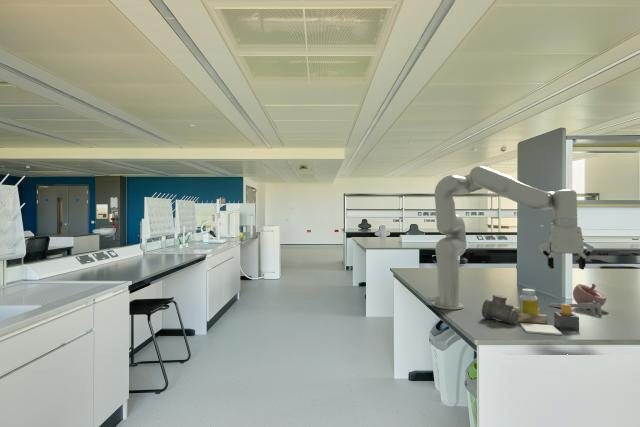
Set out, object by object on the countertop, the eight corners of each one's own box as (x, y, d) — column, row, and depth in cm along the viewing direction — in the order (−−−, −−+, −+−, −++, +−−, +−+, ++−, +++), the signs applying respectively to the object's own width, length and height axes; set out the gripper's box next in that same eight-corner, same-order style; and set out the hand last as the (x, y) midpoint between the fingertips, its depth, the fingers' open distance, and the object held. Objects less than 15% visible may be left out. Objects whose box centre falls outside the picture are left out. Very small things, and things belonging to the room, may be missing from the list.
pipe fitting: (478, 318, 146) (482, 293, 146) (489, 316, 151) (493, 292, 150) (508, 329, 136) (512, 302, 136) (519, 327, 141) (523, 301, 141)
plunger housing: (559, 329, 132) (559, 315, 132) (554, 325, 138) (554, 311, 138) (579, 331, 131) (579, 317, 131) (572, 326, 136) (572, 312, 136)
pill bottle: (540, 321, 143) (540, 291, 143) (522, 320, 144) (522, 291, 144) (534, 316, 149) (534, 288, 149) (517, 316, 151) (517, 288, 151)
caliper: (601, 316, 151) (601, 300, 151) (600, 316, 151) (600, 301, 151) (548, 305, 169) (548, 292, 169) (547, 306, 168) (547, 292, 168)
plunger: (563, 319, 133) (563, 305, 133) (560, 317, 136) (560, 303, 136) (572, 319, 132) (572, 306, 132) (569, 317, 135) (569, 304, 135)
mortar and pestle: (602, 313, 154) (602, 286, 154) (569, 308, 163) (569, 283, 163) (609, 309, 162) (609, 283, 162) (577, 304, 171) (577, 279, 171)
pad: (526, 332, 129) (526, 330, 129) (519, 324, 139) (519, 322, 139) (562, 335, 126) (562, 333, 126) (552, 326, 136) (552, 325, 136)
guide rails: (518, 321, 143) (518, 313, 143) (512, 314, 153) (512, 307, 153) (547, 323, 140) (547, 315, 140) (538, 316, 151) (538, 308, 151)
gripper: (541, 223, 136) (542, 269, 136) (596, 222, 130) (597, 270, 130) (536, 223, 143) (537, 266, 143) (588, 222, 137) (589, 268, 137)
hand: (566, 268), depth 136 cm, fingers open, 9 cm apart
